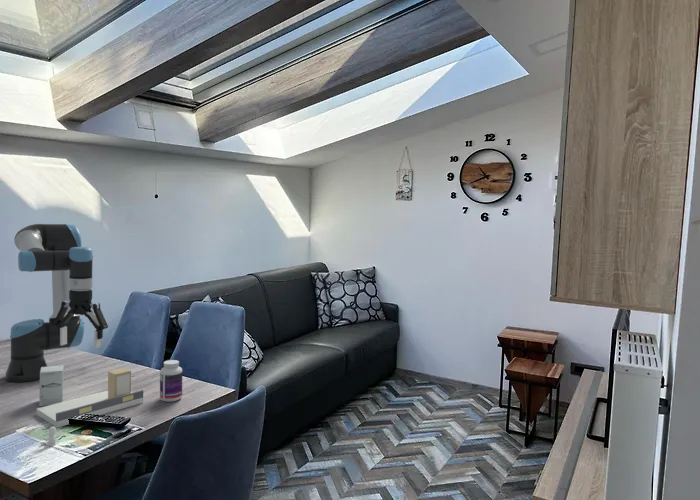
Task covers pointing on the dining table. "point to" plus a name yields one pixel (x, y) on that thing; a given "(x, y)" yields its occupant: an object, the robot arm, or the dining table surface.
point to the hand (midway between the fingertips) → (80, 346)
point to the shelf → (87, 406)
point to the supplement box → (51, 385)
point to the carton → (119, 382)
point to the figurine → (51, 437)
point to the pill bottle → (171, 381)
